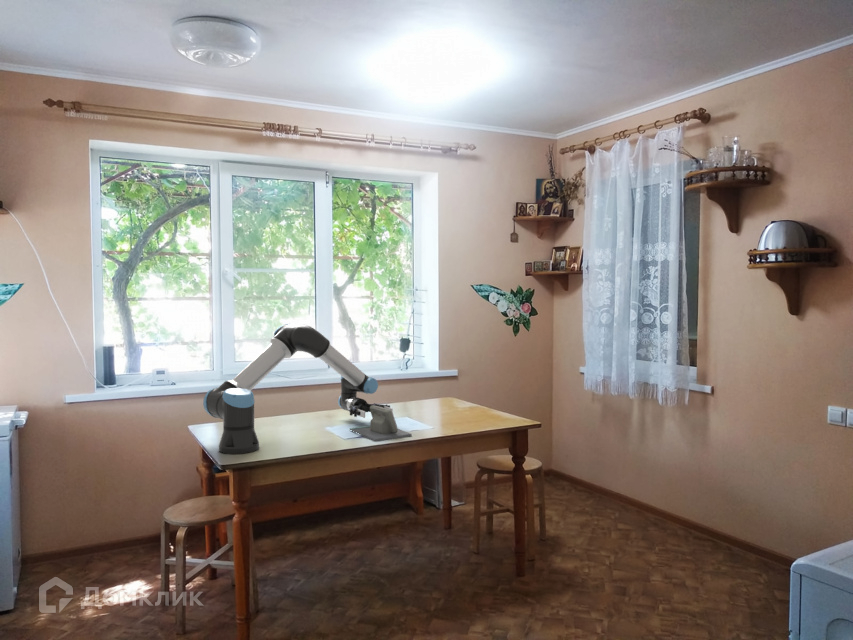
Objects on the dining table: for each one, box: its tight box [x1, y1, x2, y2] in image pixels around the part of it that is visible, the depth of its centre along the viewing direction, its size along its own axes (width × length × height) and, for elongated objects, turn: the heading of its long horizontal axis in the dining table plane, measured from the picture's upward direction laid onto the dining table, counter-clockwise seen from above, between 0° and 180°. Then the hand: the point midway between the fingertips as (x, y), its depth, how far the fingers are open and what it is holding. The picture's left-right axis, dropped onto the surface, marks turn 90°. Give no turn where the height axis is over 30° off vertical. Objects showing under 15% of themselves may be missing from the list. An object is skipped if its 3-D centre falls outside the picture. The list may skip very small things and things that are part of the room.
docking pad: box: [349, 425, 412, 442], centre depth 264 cm, size 18×24×1 cm
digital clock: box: [369, 405, 399, 434], centre depth 265 cm, size 16×9×11 cm, turn 26°
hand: (378, 413), depth 266 cm, fingers open, 13 cm apart
